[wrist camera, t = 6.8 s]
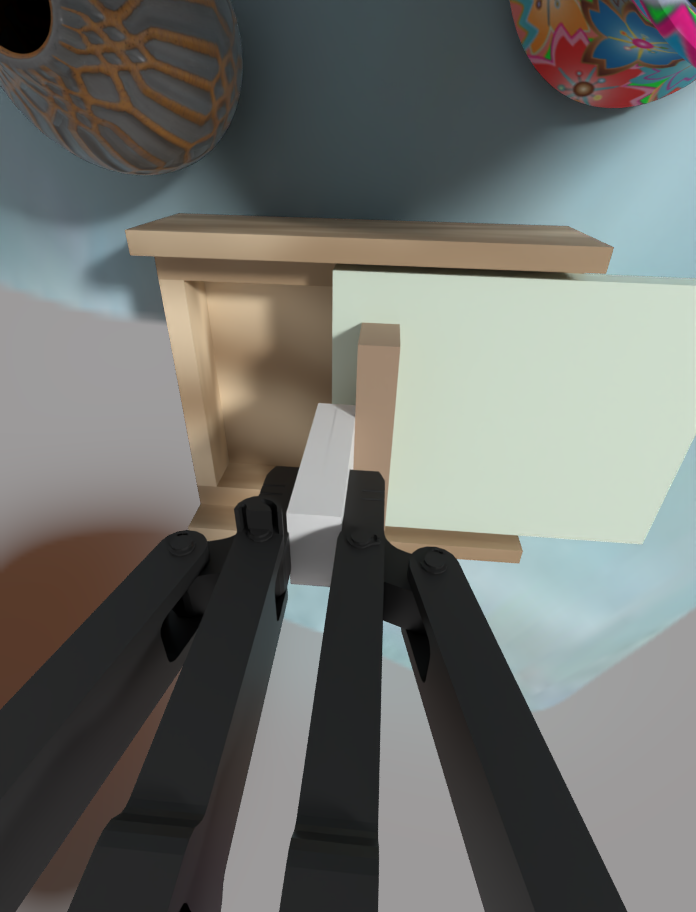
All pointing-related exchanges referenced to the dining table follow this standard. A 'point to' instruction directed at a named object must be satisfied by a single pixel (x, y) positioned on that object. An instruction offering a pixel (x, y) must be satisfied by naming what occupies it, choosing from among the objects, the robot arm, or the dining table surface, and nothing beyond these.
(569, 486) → the lid
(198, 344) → the box
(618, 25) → the mug
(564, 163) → the dining table surface
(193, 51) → the vase
